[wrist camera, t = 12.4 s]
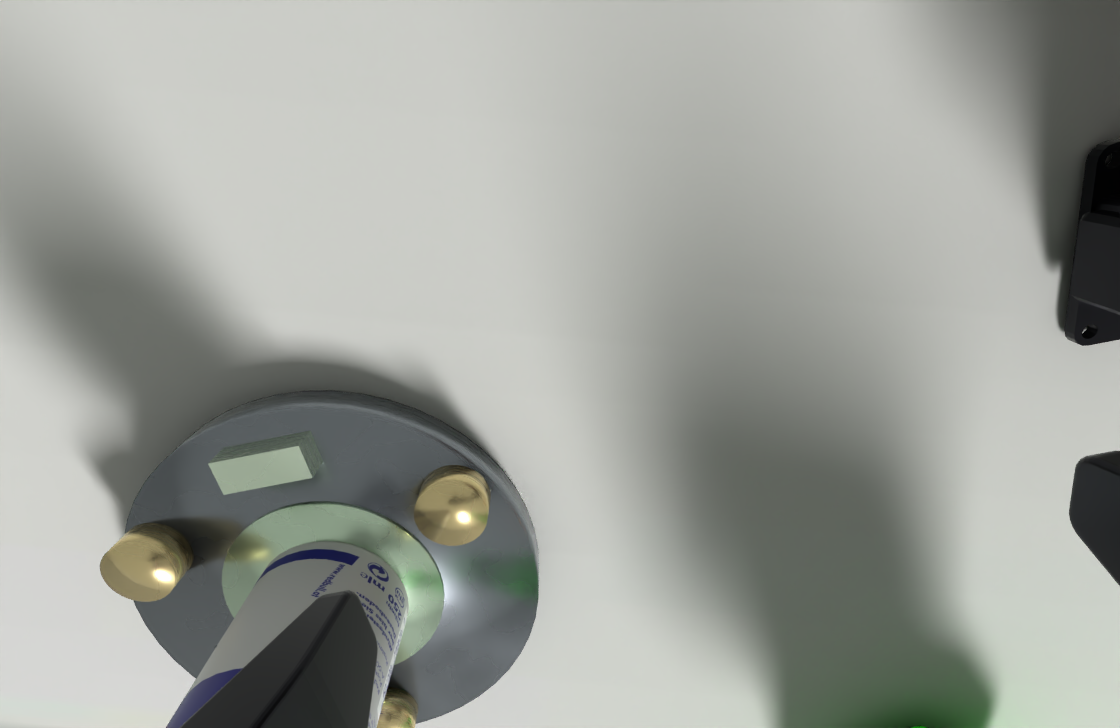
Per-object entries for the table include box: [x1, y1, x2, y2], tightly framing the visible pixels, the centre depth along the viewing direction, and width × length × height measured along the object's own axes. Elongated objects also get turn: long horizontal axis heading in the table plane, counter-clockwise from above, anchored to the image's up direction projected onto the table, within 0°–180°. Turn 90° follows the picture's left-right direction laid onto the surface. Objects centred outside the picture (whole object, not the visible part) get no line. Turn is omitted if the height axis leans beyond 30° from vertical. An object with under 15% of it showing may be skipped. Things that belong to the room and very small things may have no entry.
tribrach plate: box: [100, 391, 539, 728], centre depth 22 cm, size 15×15×3 cm
